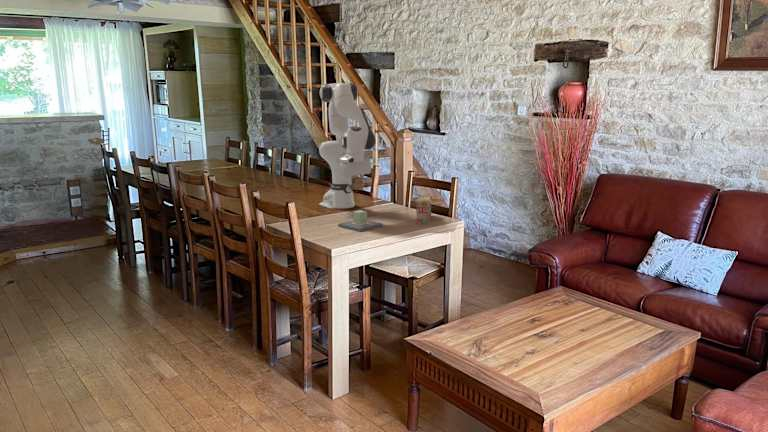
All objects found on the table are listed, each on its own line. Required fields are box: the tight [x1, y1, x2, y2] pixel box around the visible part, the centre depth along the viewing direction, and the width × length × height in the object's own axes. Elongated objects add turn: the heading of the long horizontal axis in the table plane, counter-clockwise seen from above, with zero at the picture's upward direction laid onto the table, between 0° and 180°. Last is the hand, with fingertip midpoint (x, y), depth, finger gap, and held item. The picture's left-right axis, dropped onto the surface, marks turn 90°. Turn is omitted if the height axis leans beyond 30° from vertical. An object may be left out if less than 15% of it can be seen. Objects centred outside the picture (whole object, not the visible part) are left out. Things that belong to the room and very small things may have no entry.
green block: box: [352, 209, 368, 225], centre depth 313 cm, size 5×5×6 cm
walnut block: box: [349, 176, 364, 191], centre depth 326 cm, size 5×5×6 cm
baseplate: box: [337, 219, 383, 232], centre depth 314 cm, size 16×16×2 cm
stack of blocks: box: [415, 196, 432, 225], centre depth 327 cm, size 21×6×12 cm, turn 172°
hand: (355, 183), depth 326 cm, fingers closed on walnut block, 5 cm apart
